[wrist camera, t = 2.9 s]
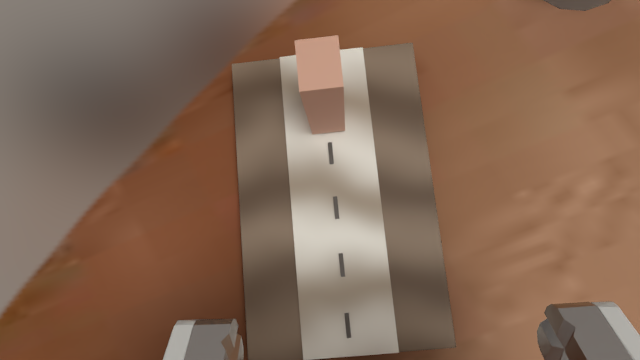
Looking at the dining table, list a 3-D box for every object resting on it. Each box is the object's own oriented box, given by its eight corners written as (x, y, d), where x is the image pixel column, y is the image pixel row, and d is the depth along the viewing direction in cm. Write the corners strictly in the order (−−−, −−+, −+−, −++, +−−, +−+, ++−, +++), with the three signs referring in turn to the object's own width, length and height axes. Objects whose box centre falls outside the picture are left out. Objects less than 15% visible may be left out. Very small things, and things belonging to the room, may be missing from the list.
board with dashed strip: (450, 342, 28) (457, 348, 27) (253, 358, 29) (247, 365, 27) (409, 52, 32) (413, 40, 31) (237, 72, 33) (230, 62, 31)
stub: (345, 130, 30) (343, 86, 22) (312, 134, 30) (299, 91, 22) (341, 91, 30) (338, 35, 22) (308, 95, 30) (294, 40, 22)
